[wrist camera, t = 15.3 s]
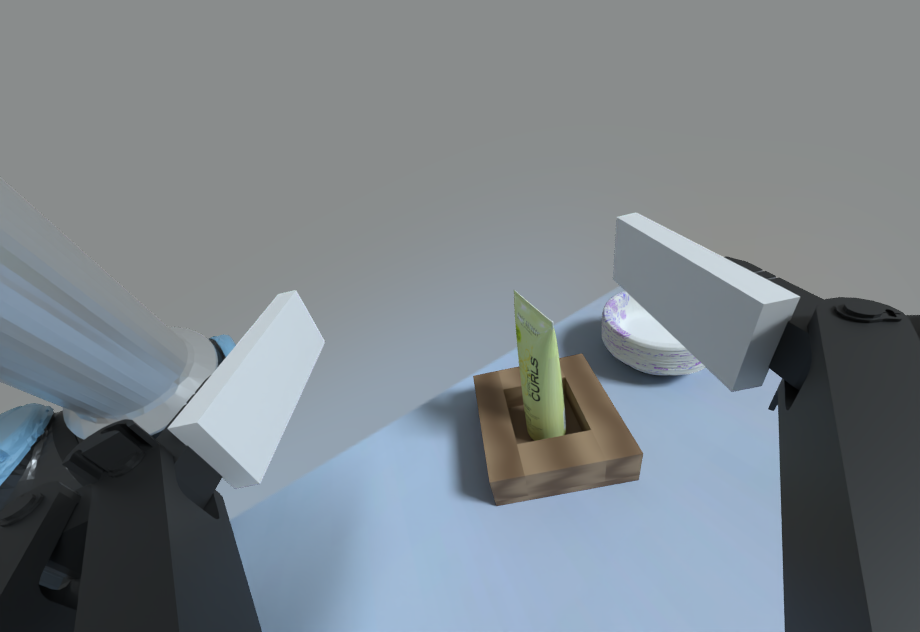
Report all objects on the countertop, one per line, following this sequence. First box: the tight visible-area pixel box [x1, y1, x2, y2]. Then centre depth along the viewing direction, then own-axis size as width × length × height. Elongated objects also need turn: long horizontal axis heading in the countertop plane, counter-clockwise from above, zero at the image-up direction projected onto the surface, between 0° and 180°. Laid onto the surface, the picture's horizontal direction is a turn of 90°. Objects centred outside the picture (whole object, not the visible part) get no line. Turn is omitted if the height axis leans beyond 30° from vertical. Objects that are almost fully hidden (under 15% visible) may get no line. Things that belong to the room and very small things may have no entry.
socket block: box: [473, 354, 643, 506], centre depth 41 cm, size 16×16×5 cm
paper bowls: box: [602, 291, 706, 375], centre depth 48 cm, size 15×15×8 cm
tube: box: [514, 290, 566, 441], centre depth 37 cm, size 6×5×20 cm
